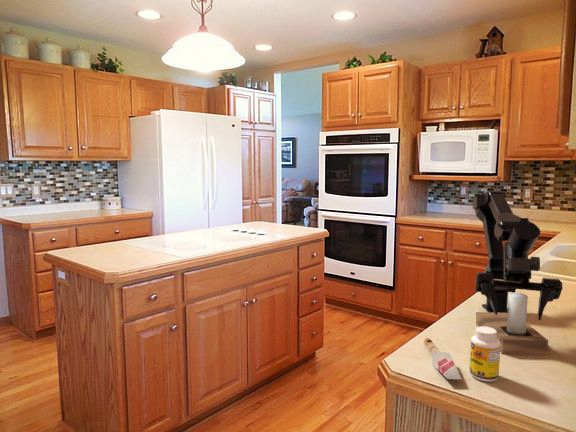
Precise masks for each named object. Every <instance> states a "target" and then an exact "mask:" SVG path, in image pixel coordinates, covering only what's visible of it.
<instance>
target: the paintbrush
mask: <svg viewBox="0 0 576 432" xmlns="http://www.w3.org/2000/svg"><path fill="white" fill-rule="evenodd" d="M423 343H424V345H425V346H426V348H427V349H428V351H429V352H430V353H431V358H432V360H431V365H432V366H433V367H434V368H435V369H436V370H437V371H438V372H439V373H441V375H443V376H444V377H445V378H446V379H447V380H462V377H461V375H460V373H459V371H458V368H457V367H456V364H455V362H454V360H453V358H452V356H451V354H450V353H449V352H442V351H440V349H439V348H438V347H437V345H435V343H434V342H433V340H432V339H431V338H429V337H426V338H425V339H424V340H423Z"/></svg>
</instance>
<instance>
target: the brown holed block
mask: <svg viewBox="0 0 576 432" xmlns="http://www.w3.org/2000/svg"><path fill="white" fill-rule="evenodd" d="M507 321H508V313H497V315H495V313H494V312H488V311H486V312H485V311H484V312H483V311H478V312H477V311H476V313H475V325H476V327H480V326H485V327H490V328H493V329H495V330H496V331H497V339H498V340H499V341H500V354H503V355H532V356H533V355H534V356H536V355H539V356H540V355H541V356H547V355H548V348H549V339H547V338H546V337H545V336H543V334H541V333H540V332H539V331H537V330H536V329H535V328H534V327H532V326H531V325H530V324H529V323H527V322H526V335H525V336H509V335H508V334H507Z"/></svg>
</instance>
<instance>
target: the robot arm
mask: <svg viewBox="0 0 576 432" xmlns="http://www.w3.org/2000/svg"><path fill="white" fill-rule="evenodd" d="M472 209H473V210H474V213H475V217H476V218H478V219H479V220H480V221H481V223H482V226H483V232H484V239H485V245H486V251H487V252H486V253H487V258H488V262H487V265H486V266H485V269H484V271H483V272H477V274H476V275H475V292H477V293H480V294H481V295H482V296H485V298H486V303H483V304H481V307H482V308H484V309H485V310H486V312H494V313H495V315H497V313H508V302H509V293H516V291H517V290H525V291H534V292H539V298H538V307H537V309H538V310H537V319H538V321H541V320H542V317H543V314H544V311H545V307H546V306H547V304H548V303H551V302H553V301H554V300H559V299H560V296H561V294H562V291H563V282H562V280H560V279H559V278H551V277H542V279H541V282H533V281H530V280H531V279H532V272H539V271H540V269H541V259H540V258H541V257H540V256H530V258H529V251H530V250H532V249H533V247H534V245H535V243H536V242H537V240H538V238H540V237H539V236H540V235H541V229H540V227H539V226H538V225H537V224H535V223H534V222H532V221H530V220H529V218H528V217H521V216H519V215H516V214H514V213H513V210H512V208H511V207H510V204H509V203H508V200H507V199H506V193H505V191H502V190H488V191H485V192H484V193H482V194H479V195H476V196H475V197H474V198H473V199H472ZM504 242H505V243H504Z"/></svg>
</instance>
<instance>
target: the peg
mask: <svg viewBox="0 0 576 432" xmlns="http://www.w3.org/2000/svg"><path fill="white" fill-rule="evenodd" d="M528 298H529V297H528V295H527V294H524V293H519V292H515V293H513V292H509V293H508V304H507V308H508V321H507V334H508V335H509V336H525V335H526V323H527V318H528V317H527V316H528Z"/></svg>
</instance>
